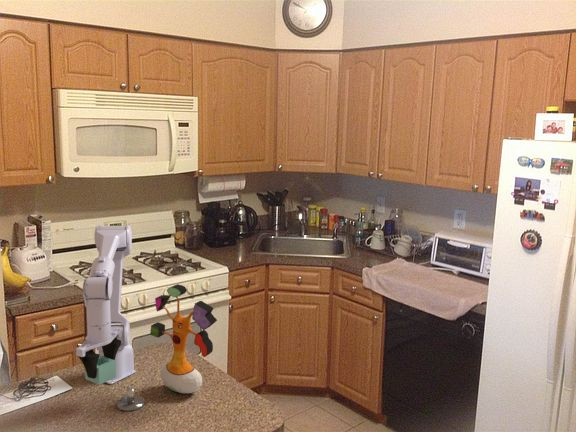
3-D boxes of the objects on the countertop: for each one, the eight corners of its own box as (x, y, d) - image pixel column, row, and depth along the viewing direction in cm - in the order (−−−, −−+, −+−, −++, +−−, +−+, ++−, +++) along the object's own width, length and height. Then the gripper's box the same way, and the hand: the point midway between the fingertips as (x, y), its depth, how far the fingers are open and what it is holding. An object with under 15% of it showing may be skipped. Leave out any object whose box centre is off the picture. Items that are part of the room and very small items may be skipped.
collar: (102, 371, 147) (101, 355, 146) (116, 376, 144) (115, 360, 144) (85, 379, 143) (84, 362, 142) (99, 384, 140) (98, 368, 139)
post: (131, 395, 150) (131, 379, 149) (150, 402, 146) (149, 387, 145) (111, 406, 144) (110, 390, 143) (129, 414, 140) (129, 397, 139)
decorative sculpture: (222, 393, 152) (222, 288, 147) (206, 406, 145) (206, 297, 139) (163, 377, 160) (161, 277, 155) (145, 389, 153) (143, 285, 148)
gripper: (105, 311, 149) (107, 358, 151) (65, 329, 136) (67, 380, 138) (127, 315, 146) (128, 363, 149) (88, 334, 133) (90, 386, 136)
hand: (100, 372), depth 143 cm, fingers closed on collar, 6 cm apart
